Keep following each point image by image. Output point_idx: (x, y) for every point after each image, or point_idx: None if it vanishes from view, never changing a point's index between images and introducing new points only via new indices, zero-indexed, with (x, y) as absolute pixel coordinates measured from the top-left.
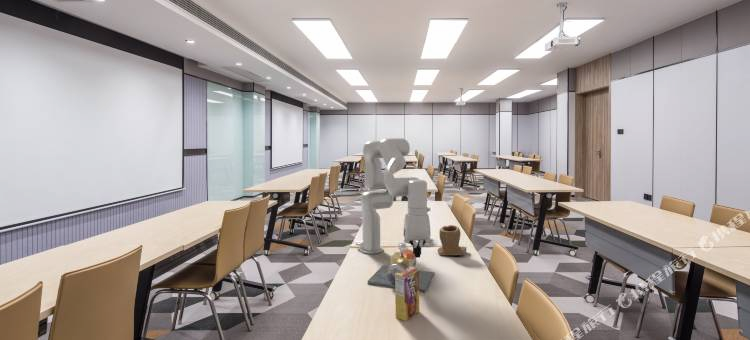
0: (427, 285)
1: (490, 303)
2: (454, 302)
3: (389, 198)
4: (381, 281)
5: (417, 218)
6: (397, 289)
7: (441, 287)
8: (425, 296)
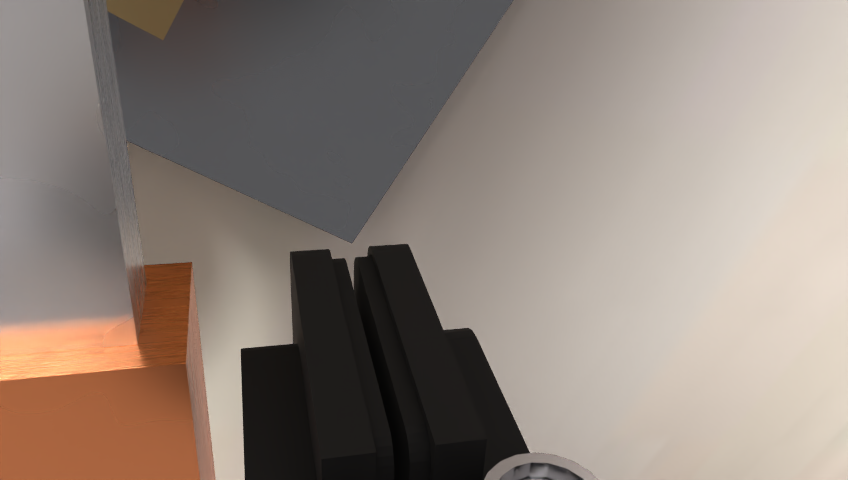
0: (429, 124)
1: (795, 441)
2: (545, 421)
3: None
4: None
5: None
6: None
7: (597, 113)
8: None
